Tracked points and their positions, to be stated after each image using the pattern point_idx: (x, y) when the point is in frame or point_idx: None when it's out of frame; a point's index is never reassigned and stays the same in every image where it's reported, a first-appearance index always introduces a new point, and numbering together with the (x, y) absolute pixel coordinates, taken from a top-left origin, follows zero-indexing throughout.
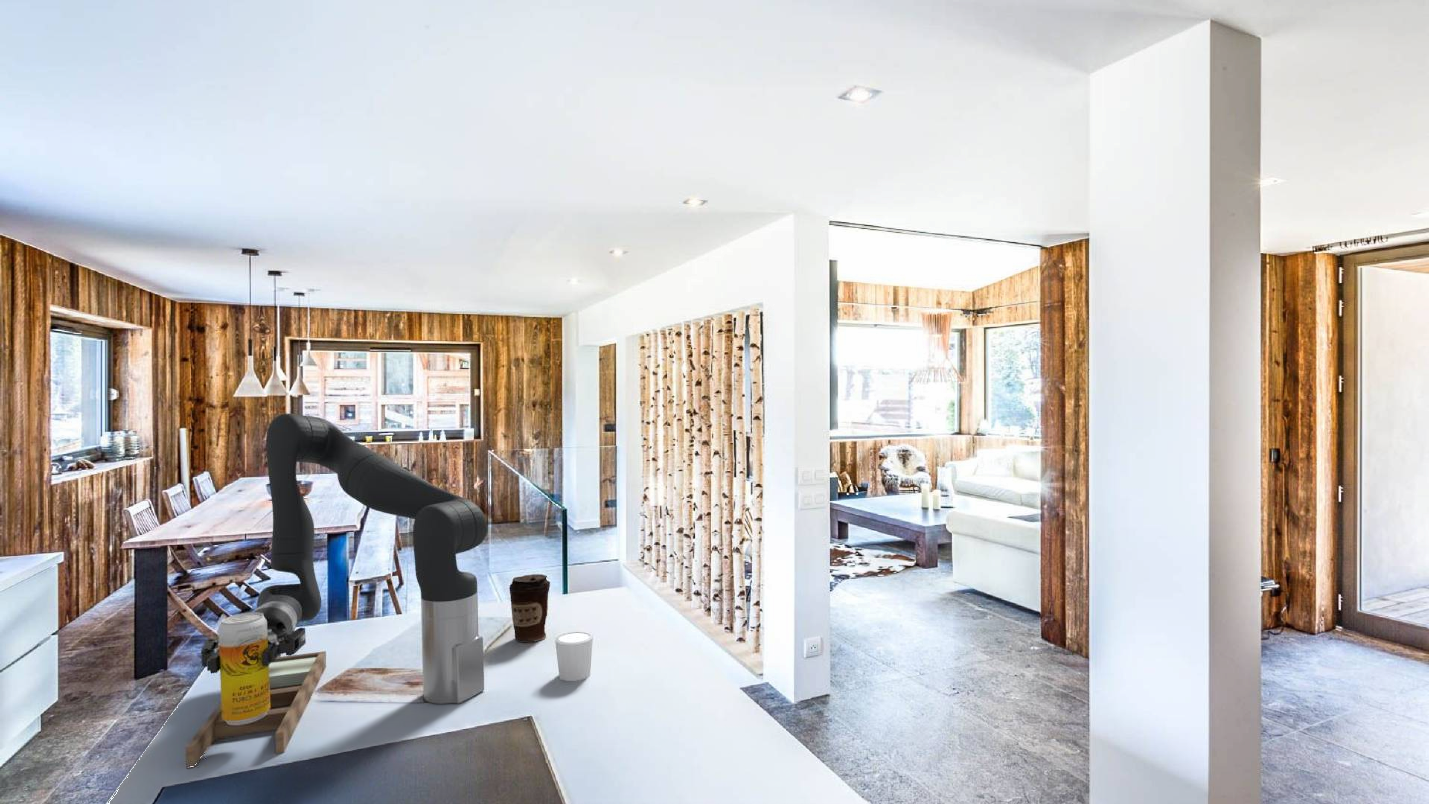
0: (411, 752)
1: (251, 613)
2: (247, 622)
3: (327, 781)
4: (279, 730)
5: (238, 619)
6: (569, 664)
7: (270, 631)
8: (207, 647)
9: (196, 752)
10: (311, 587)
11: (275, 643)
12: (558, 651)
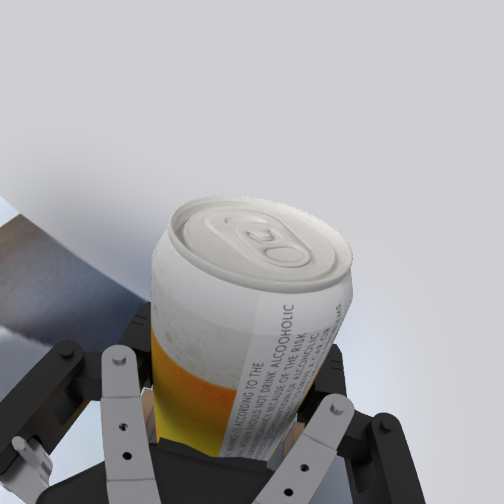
0: (28, 303)
1: (227, 271)
2: (235, 200)
3: (120, 306)
4: (150, 399)
5: (279, 232)
6: None
7: (114, 475)
8: (391, 447)
9: (289, 440)
10: None
11: (123, 348)
12: None
